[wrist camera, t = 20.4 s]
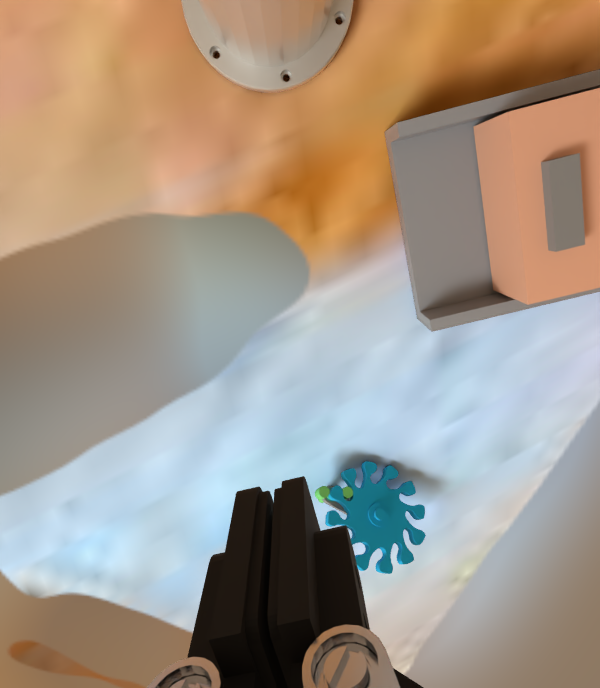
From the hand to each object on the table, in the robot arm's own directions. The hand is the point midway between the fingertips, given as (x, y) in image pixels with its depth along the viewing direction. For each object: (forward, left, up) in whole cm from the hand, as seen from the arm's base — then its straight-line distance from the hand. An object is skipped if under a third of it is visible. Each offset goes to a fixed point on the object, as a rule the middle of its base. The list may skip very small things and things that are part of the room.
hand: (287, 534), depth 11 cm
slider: (-3, +22, -29) cm, 37 cm away
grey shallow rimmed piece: (-3, +21, -31) cm, 38 cm away
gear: (+22, +3, -31) cm, 38 cm away
